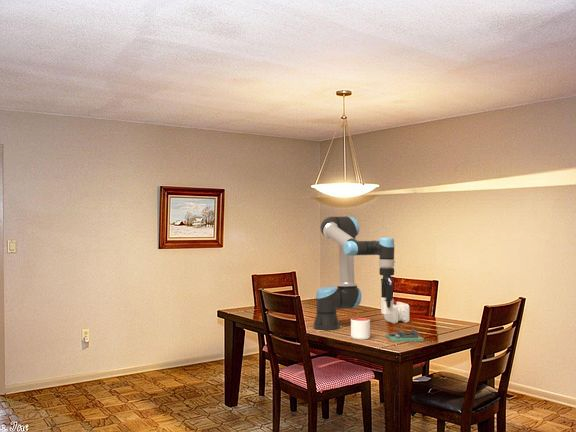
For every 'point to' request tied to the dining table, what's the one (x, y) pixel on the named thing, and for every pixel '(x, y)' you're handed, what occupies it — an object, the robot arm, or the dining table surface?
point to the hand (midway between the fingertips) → (386, 312)
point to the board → (404, 336)
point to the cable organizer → (398, 313)
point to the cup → (360, 328)
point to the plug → (384, 305)
